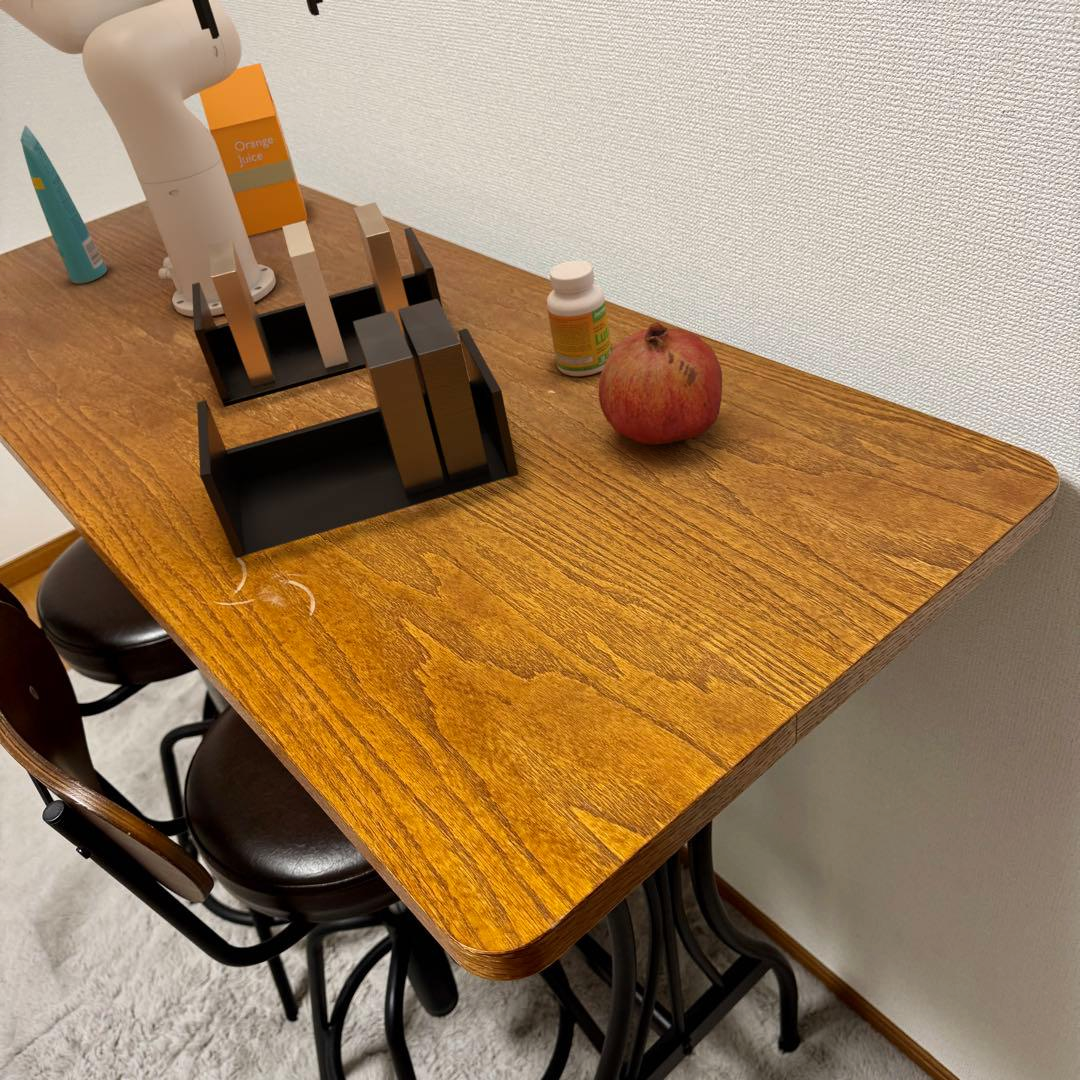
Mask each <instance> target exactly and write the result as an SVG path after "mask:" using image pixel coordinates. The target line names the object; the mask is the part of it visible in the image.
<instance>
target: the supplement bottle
mask: <svg viewBox="0 0 1080 1080" xmlns="http://www.w3.org/2000/svg"><path fill="white" fill-rule="evenodd" d="M549 281H550V286H551V288H552V290H551V291H550V292H549V294H548V296H547V298H546V308H547V314H548V320H549V326H550V327H549V328H550V332H551V333H550V334H551V339H552V344H553V345H552V346H553V351H554V358H555V362H556V363H555V364H556V367H557V369H558V370H559V371H560V372H561V373H562V374H564V375H567V376H570V377H586V376H591V375H594V374H598V373H600V372H602V369H603V367H604V365H605V363H606V361H607V359H608V357H609V354H610V353H611V351H612V345H611V336H610V329H609V322H608V312H607V305H606V298H605V293H604V290H603V289H602V288H601V286H599V285H598V284H596V283H595V273H594V267H593V265H592V264H591V263H590V262H588V261H585V260H569V261H565V262H561V263H559V264H556V265H555V266H552V268H551V269H550V270H549Z"/></svg>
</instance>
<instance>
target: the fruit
mask: <svg viewBox="0 0 1080 1080" xmlns="http://www.w3.org/2000/svg"><path fill="white" fill-rule="evenodd" d="M598 382H599V383H598V402H599V405H600V409H601V412H602V413H603V415H604V417H605V419H606V421H607V423H609V424H610V426H611V427H612V428H613V429H614V430H615V431H616V432H618V433H619V434H621V435H623V436H624V437H627V438H628V439H631V440H633V441H635V442H638V443H641V444H647V445H663V444H670V443H674V442H679V441H684V440H688V439H692V438H695V437H698V436H700V435H703V434H704V433H706V432H707V431H708V430H709V429H710V428H711V427H712V426H713V425H714V424H715V423H716V422H717V420H718V418H719V415H720V411H721V404H722V394H723V371H722V367H721V365H720V362H719V359H718V357H717V355H716V353H715V351H714V349H713V348H712V347H711V346H710V345H709V344H707V343H706V341H704V340H703V339H702V338H701V337H699V336H697V335H696V334H694V333H692V332H689V331H687V330H684V329H679V328H668V327H666V326H664V325H663V324H661V323H660V322H659V321H656V322H653V323H650V324H649V327H648V328H646V329H645V328H644V329H640V330H639V331H637V332H635V333H633V334H632V335H630V336H627V337H625V338H623V339H621V340H620V341H618V343H617V344H616V345H615V346H614V347H612V348H611V353H610V354H609V357H608V359H607V361H606V363H605V365H604V367H603V369H602V371H601V373H600V377H599V381H598Z"/></svg>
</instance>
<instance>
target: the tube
mask: <svg viewBox="0 0 1080 1080" xmlns="http://www.w3.org/2000/svg"><path fill="white" fill-rule="evenodd" d="M19 141H20V143H21V146H22V147H21V148H22V152H23V155H24V159H25V163H26V166H27V169H28V172H29V176H30V179H31V182H32V186H33V189H34V191H35V194H36V196H37V200H38V202H39V205H40V208H41V210H42V213H43V215H44V218H45V221H46V223H47V226H48V228H49V232H50V233H51V237H52V238H53V241H54V244H55V246H56V248H57V251H58V253H59V255H60V256H59V257H60V258H61V261H62V263H63V266H64V269H65V270H66V273H67V274H68V277H69V280H70V281H71V282H72V283H74V284H86V283H89V282H93V281H95V280H97V279H99V278H101V277H102V276H104V275H105V274H106V273H107V272H108V268H107V266H106V264H105V261H104V260H103V258H102V255H101V254H100V252H99V250H98V247H97V246H96V243H95V242H94V240H93V238H92V236H91V234H90V232H89V230H88V228H87V226H86V224H85V222H84V220H83V218H82V216H81V214H80V212H79V210H78V209H77V206H76V204H75V203H74V201H73V199H72V197H71V195H70V193H69V191H68V190H67V188H66V186H65V184H64V182H63V181H62V179H61V177H60V175H59V173H58V171H57V169H56V168H55V166H54V165H53V163H52V161H51V159H50V158H49V156H48V154H47V153H46V151H45V149H44V148H43V146H42V145H41V143H40V142H39V140H38V139H37V137H36V136H35V135H34V132H32V131H31V129H30V128H29V127H28V126H27V125H24V127H23V129H22V133H21V135H20V139H19Z"/></svg>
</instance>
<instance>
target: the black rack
mask: <svg viewBox="0 0 1080 1080" xmlns="http://www.w3.org/2000/svg"><path fill="white" fill-rule="evenodd" d="M442 307H443V306H442ZM442 307H441V305H440V303H439V301H438V299H434V300H431V301H427V302H423V303H420V304H416V305H412V306H408V307H405V308H401V309H398V312H399V316H400V320H401V324H402V328H403V332H404V335H405V338H404V335H403V333H402V331H401V328H400V326H399V324H398V321H397V319H396V317H395V314H394V312H393V311H390V312H386V313H382V314H379V315H375V316H371V317H368V318H364V319H360V320H356V321H353V324H354V327H355V331H356V334H357V337H358V341H359V344H360V348H361V351H362V355H363V358H364V362H365V365H366V368H365V369H366V372H367V375H368V378H369V382H370V387H371V388H372V392H373V395H374V399H375V402H376V407H372V408H369V409H366V410H362V411H359V412H354V413H352V414H348V415H345V416H341V417H337V418H333V419H330V420H326V421H322V422H319V423H316V424H313V425H309V426H305V427H303V428H298V429H295V430H291V431H288V432H284V433H280V434H277V435H273V436H270V437H266V438H263V439H259V440H255V441H252V442H249V443H244V444H241V445H238V446H234V447H231V448H227V447H226V445H225V443H224V441H223V438H222V436H221V433H220V431H219V428H218V426H217V423H216V421H215V418H214V416H213V413H212V410H211V409H210V406H209V403H208V401H207V400H206V399H205V400H201V401H197V402H196V410H197V411H196V413H197V433H198V434H197V435H198V436H197V437H198V439H197V440H198V461H199V476H200V477H199V478H200V480H201V482H202V484H203V486H204V488H205V490H206V493H207V495H208V498H209V500H210V502H211V505H212V507H213V509H214V511H215V514H216V516H217V518H218V521H219V523H220V525H221V528H222V530H223V532H224V534H225V538H226V539H227V542H228V544H229V546H230V548H231V550H232V553H233V555H234V557H235V559H238V558H241V557H245V556H247V555H252V554H255V553H258V552H262V551H265V550H268V549H272V548H276V547H278V546H282V545H285V544H288V543H292V542H295V541H298V540H302V539H306V538H309V537H312V536H316V535H319V534H323V533H325V532H329V531H332V530H336V529H339V528H343V527H347V526H349V525H353V524H357V523H359V522H362V521H366V520H369V519H374V518H377V517H380V516H383V515H387V514H391V513H394V512H397V511H401V510H403V509H408V508H411V507H414V506H417V505H421V504H425V503H428V502H431V501H434V500H438V499H441V498H444V497H447V496H451V495H455V494H458V493H462V492H465V491H469V490H472V489H475V488H478V487H482V486H485V485H489V484H492V483H494V482H495V483H496V482H499V481H502V480H504V479H505V480H506V479H509V478H512V477H515V476H519V470H518V465H517V460H516V456H515V455H516V454H515V450H514V446H513V441H512V436H511V431H510V426H509V420H508V415H507V411H506V407H505V401H504V397H503V393H502V392H503V390H502V389H501V387H500V385H499V383H498V381H497V380H496V378H495V376H494V374H493V372H492V370H491V369H490V367H489V365H488V364H487V362H486V360H485V358H484V356H483V354H482V353H481V350H480V349H479V347H478V345H477V343H476V341H475V340H474V338H473V336H472V335H471V333H470V331H469V329H468V328H463V329H460V330H458V335H457V334H456V331H455V330H454V328H453V325H452V324H451V322H450V320H449V318H448V317H447V314H446V313H445V311H444V308H443V309H442ZM458 336H459V338H458ZM405 339H406V340H405Z"/></svg>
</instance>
